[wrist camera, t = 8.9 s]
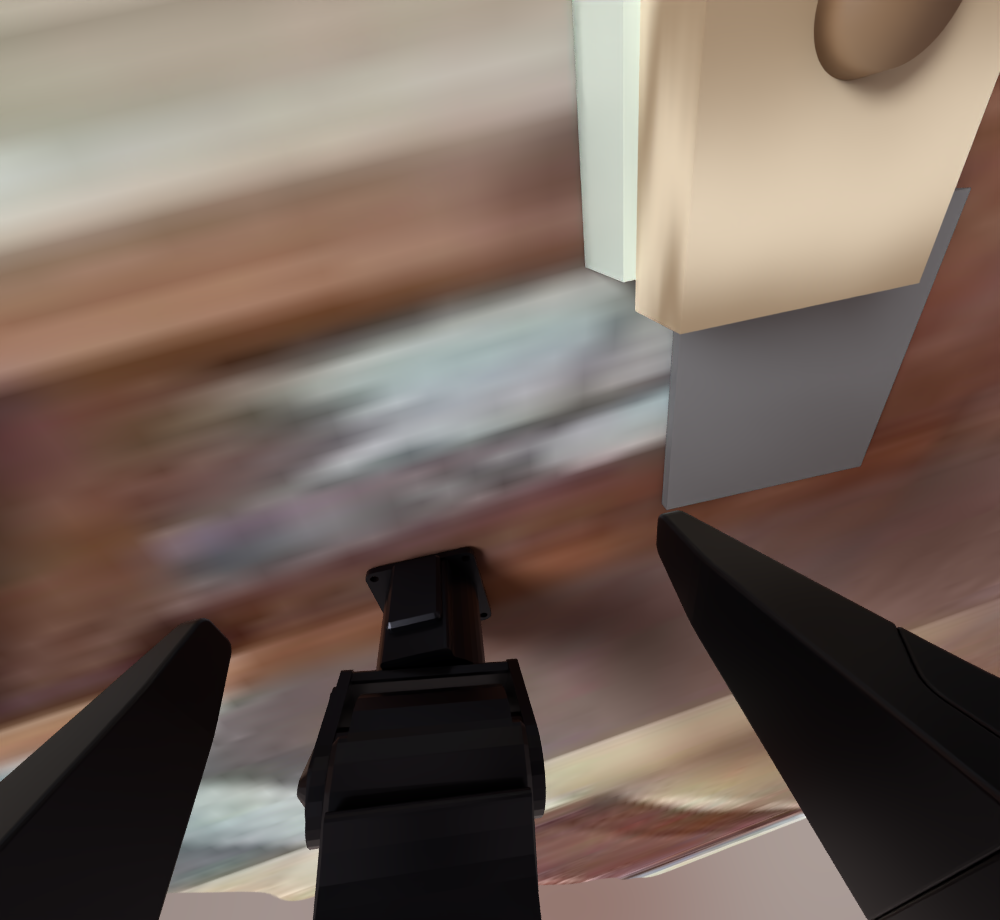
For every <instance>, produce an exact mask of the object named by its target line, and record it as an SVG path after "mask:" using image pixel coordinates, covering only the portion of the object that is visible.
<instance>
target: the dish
mask: <svg viewBox="0 0 1000 920" xmlns="http://www.w3.org/2000/svg"><path fill="white" fill-rule="evenodd" d="M572 11H573V31H574V51H575V71H576V91H577V111H578V131H579V151H580V171H581V191H582V212H583V232H584V252H585V267H587V268H589V269H592V270H594V271H597V272H599V273H602V274H604V275H606V276H609V277H611V278H614V279H616V280H619V281H621V282H627V281H632V280H636V235H637V175H638V116H639V56H640V0H572Z"/></svg>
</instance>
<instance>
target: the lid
mask: <svg viewBox="0 0 1000 920" xmlns="http://www.w3.org/2000/svg"><path fill="white" fill-rule="evenodd" d="M999 72H1000V0H640V56H639V116H638V175H637V235H636V294H635V311H636V312H638V313H640V314H642V315H644V316H646V317H648V318H650V319H652V320H654V321H655V322H657V323H659V324H661V325H663V326H665V327H667V328H669V329H671V330H673V331H675V332H677V333H678V334H684V333H689V332H693V331H698V330H703V329H707V328H712V327H717V326H721V325H726V324H731V323H735V322H740V321H745V320H749V319H754V318H759V317H763V316H768V315H773V314H777V313H782V312H787V311H791V310H796V309H801V308H805V307H810V306H815V305H819V304H824V303H829V302H833V301H838V300H843V299H847V298H852V297H856V296H861V295H866V294H870V293H875V292H880V291H884V290H889V289H894V288H898V287H903V286H908V285H912V284H917V283H919V282H920V279H921V277H922V274H923V271H924V269H925V266H926V263H927V261H928V258H929V256H930V253H931V250H932V248H933V245H934V243H935V240H936V237H937V235H938V232H939V229H940V227H941V224H942V222H943V219H944V216H945V214H946V211H947V208H948V206H949V203H950V201H951V198H952V195H953V193H954V190H955V188H956V185H957V182H958V180H959V177H960V174H961V172H962V169H963V167H964V164H965V161H966V159H967V156H968V154H969V151H970V148H971V146H972V143H973V140H974V138H975V135H976V133H977V130H978V127H979V125H980V122H981V119H982V117H983V114H984V112H985V109H986V106H987V104H988V101H989V99H990V96H991V93H992V91H993V88H994V85H995V83H996V80H997V78H998V75H999Z"/></svg>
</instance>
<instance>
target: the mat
mask: <svg viewBox="0 0 1000 920" xmlns="http://www.w3.org/2000/svg"><path fill="white" fill-rule="evenodd" d="M970 190H971V188H955V190H954V193H953V195H952V198H951V201H950V203H949V206H948V208H947V211H946V214H945V216H944V219H943V222H942V224H941V227H940V229H939V232H938V235H937V237H936V240H935V243H934V245H933V248H932V250H931V253H930V256H929V258H928V261H927V263H926V266H925V269H924V271H923V274H922V277H921V279H920V282H919V283H917V284H912V285H908V286H903V287H898V288H894V289H889V290H884V291H880V292H875V293H870V294H866V295H861V296H856V297H852V298H847V299H843V300H838V301H833V302H829V303H824V304H819V305H815V306H810V307H805V308H801V309H796V310H791V311H787V312H782V313H777V314H773V315H768V316H763V317H759V318H754V319H749V320H745V321H740V322H735V323H731V324H726V325H721V326H717V327H712V328H707V329H703V330H698V331H693V332H689V333H684V334H678V333H677V332H675V331H673V345H672V360H671V375H670V390H669V405H668V420H667V435H666V449H665V464H664V479H663V494H662V505H663V506H664V507H665V508H666V510H669V509H673V508H678V507H682V506H686V505H691V504H695V503H700V502H704V501H709V500H713V499H717V498H722V497H726V496H731V495H735V494H740V493H744V492H748V491H753V490H757V489H762V488H766V487H770V486H775V485H779V484H784V483H788V482H793V481H797V480H801V479H806V478H810V477H815V476H819V475H824V474H828V473H832V472H837V471H841V470H846V469H850V468H854V467H859V466H861V463H862V461H863V458H864V456H865V453H866V451H867V448H868V446H869V443H870V441H871V438H872V436H873V433H874V431H875V428H876V426H877V423H878V421H879V418H880V416H881V413H882V411H883V408H884V406H885V403H886V401H887V398H888V396H889V393H890V391H891V388H892V386H893V383H894V381H895V378H896V375H897V373H898V370H899V368H900V365H901V363H902V360H903V358H904V355H905V353H906V350H907V348H908V345H909V343H910V340H911V338H912V335H913V333H914V330H915V328H916V325H917V323H918V320H919V318H920V315H921V313H922V310H923V308H924V305H925V303H926V300H927V298H928V295H929V293H930V290H931V288H932V285H933V283H934V280H935V278H936V275H937V273H938V270H939V267H940V265H941V262H942V260H943V257H944V255H945V252H946V250H947V247H948V245H949V242H950V240H951V237H952V235H953V232H954V230H955V227H956V225H957V222H958V220H959V217H960V215H961V212H962V210H963V207H964V205H965V202H966V200H967V197H968V195H969V192H970Z"/></svg>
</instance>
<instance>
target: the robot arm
mask: <svg viewBox="0 0 1000 920" xmlns="http://www.w3.org/2000/svg"><path fill="white" fill-rule="evenodd" d="M656 545H657V550H658V554H659V556H660V558H661V560H662V563H663V565H664V567H665V569H666V571H667V573H668V576H669V578H670V580H671V582H672V584H673V586H674V589H675V591H676V593H677V595H678V597H679V599H680V602H681V604H682V606H683V608H684V610H685V612H686V615H687V617H688V619H689V621H690V623H691V625H692V627H693V628H694V630H695V632H696V634H697V635H698V637H699V639H700V641H701V642H702V644H703V646H704V647H705V649H706V651H707V652H708V654H709V656H710V657H711V659H712V661H713V662H714V664H715V666H716V667H717V669H718V671H719V672H720V674H721V676H722V677H723V679H724V681H725V682H726V684H727V686H728V687H729V689H730V691H731V692H732V694H733V696H734V697H735V699H736V701H737V702H738V704H739V706H740V707H741V709H742V711H743V712H744V714H745V716H746V717H747V719H748V721H749V722H750V724H751V726H752V728H753V729H754V731H755V733H756V734H757V736H758V738H759V739H760V741H761V743H762V744H763V746H764V748H765V749H766V751H767V753H768V754H769V756H770V758H771V759H772V761H773V763H774V764H775V766H776V768H777V769H778V771H779V773H780V774H781V776H782V778H783V779H784V781H785V783H786V784H787V786H788V788H789V789H790V791H791V793H792V794H793V796H794V798H795V799H796V801H797V803H798V804H799V806H800V808H801V809H802V811H803V813H804V814H805V816H806V818H807V819H808V821H809V823H810V824H811V826H812V828H813V829H814V831H815V833H816V835H817V836H818V838H819V839H820V841H821V843H822V844H823V846H824V848H825V850H826V851H827V853H828V854H829V856H830V858H831V860H832V861H833V863H834V864H835V866H836V868H837V870H838V871H839V873H840V874H841V876H842V878H843V880H844V881H845V883H846V885H847V886H848V888H849V890H850V891H851V893H852V895H853V896H854V898H855V900H856V901H857V903H858V905H859V906H860V908H861V910H862V911H863V913H864V915H865V916H866V918H867V919H868V920H1000V678H999V677H997V676H995V675H993V674H991V673H989V672H987V671H985V670H983V669H981V668H979V667H977V666H975V665H973V664H971V663H969V662H967V661H965V660H963V659H961V658H959V657H957V656H955V655H953V654H951V653H949V652H947V651H946V650H944V649H942V648H940V647H938V646H936V645H934V644H932V643H930V642H928V641H926V640H924V639H922V638H921V637H919V636H917V635H915V634H913V633H911V632H909V631H907V630H906V629H904V628H901V627H897V628H896V626H895V624H894V623H892V622H890V621H888V620H886V619H884V618H883V617H881V616H879V615H877V614H875V613H873V612H871V611H869V610H868V609H866V608H864V607H862V606H860V605H858V604H856V603H854V602H852V601H851V600H849V599H847V598H845V597H843V596H841V595H839V594H837V593H836V592H834V591H832V590H830V589H828V588H826V587H824V586H822V585H820V584H819V583H817V582H815V581H813V580H811V579H809V578H807V577H805V576H804V575H802V574H800V573H798V572H796V571H794V570H792V569H790V568H788V567H787V566H785V565H783V564H781V563H779V562H777V561H775V560H773V559H772V558H770V557H768V556H766V555H764V554H762V553H760V552H758V551H757V550H755V549H753V548H751V547H749V546H747V545H745V544H743V543H741V542H740V541H738V540H736V539H734V538H732V537H730V536H728V535H726V534H725V533H723V532H721V531H719V530H717V529H715V528H713V527H711V526H709V525H708V524H706V523H704V522H702V521H700V520H698V519H696V518H694V517H693V516H691V515H689V514H687V513H685V512H683V511H673V512H668V513H664V514H661V515H660V516H659V518H658V525H657V541H656ZM465 555H467V557H464V556H465ZM373 576H376V577H373ZM366 582H367V584H368V586H369V588H370V589H371V591H372V593H373V595H374V597H375V599H376V601H377V602H378V604H379V606H380V608H381V610H382V612H383V621H382V628H381V636H380V644H379V652H378V659H377V667H376V670H372V671H358V672H354V671H353V670H343V671H341V673H340V676H339V679H338V683H337V686H336V687H334V688H333V690H332V693H331V694H330V699H329V703H328V706H327V709H326V712H325V716H324V719H323V722H322V725H321V728H320V731H319V735H318V738H317V741H316V744H315V747H314V749H313V752H312V754H311V756H310V758H309V760H308V762H307V765H306V767H305V769H304V771H303V773H302V775H301V778H300V780H299V784H298V789H297V797H298V799H299V800H300V802H301V803H302V804H303V806H304V807H305V838H306V845H307V848H308V849H309V850H311V849H318V848H319V857H318V868H317V880H316V891H315V902H314V915H313V920H541V913H540V903H539V894H538V875H537V857H536V840H535V822H534V818H541V817H542V816H543V814H544V810H545V801H546V784H545V769H544V760H543V753H542V746H541V741H540V736H539V732H538V728H537V724H536V720H535V717H534V714H533V710H532V707H531V704H530V700H529V697H528V694H527V690H526V687H525V684H524V680H523V677H522V673H521V670H520V667H519V663H518V660H517V659H507V660H506V661H502V662H488V663H485V656H484V646H483V637H482V628H481V620H485V619H488V618H489V617H490V616H491V609H490V605H489V602H488V599H487V595H486V592H485V589H484V585H483V582H482V579H481V575H480V572H479V569H478V565H477V562H476V558H475V555H474V552H473V550H472V549H470V548H460V549H456V550H452V551H447V552H443V553H438V554H434V555H429V556H425V557H421V558H416V559H412V560H407V561H403V562H398V563H394V564H390V565H385V566H381V567H376V568H372V569H369V570H368V571H367V574H366ZM230 658H231V644H230V642H229V640H228V639H227V638H226V637H225V636H224V635H223V634H222V632H221V631H220V630H219V629H218V628H217V627H216V626H215V625H214V624H213V623H212V622H211V621H210V620H208V619H205V618H201V619H196V620H192V621H187V622H184V623H181V624H180V625H178V626H177V627H176V628H175V629H174V630H172V631H171V632H170V633H169V634H168V635H167V636H166V637H164V638H163V639H162V640H161V641H160V642H159V643H158V644H156V645H155V646H154V647H153V648H152V649H151V650H150V651H149V652H147V653H146V654H145V655H144V656H143V657H142V658H141V659H139V660H138V661H137V662H136V663H135V664H134V665H133V666H131V667H130V668H129V669H128V670H127V671H126V672H125V673H124V674H122V675H121V676H120V677H119V678H118V679H117V680H116V681H114V682H113V683H112V684H111V685H110V686H109V687H108V688H107V689H105V690H104V691H103V692H102V693H101V694H100V695H99V696H97V697H96V698H95V699H94V700H93V701H92V702H91V703H89V704H88V705H87V706H86V707H85V708H84V709H83V710H82V711H80V712H79V713H78V714H77V715H76V716H75V717H74V718H72V719H71V720H70V721H69V722H68V723H67V724H66V725H64V726H63V727H62V728H61V729H60V730H59V731H58V732H57V733H55V734H54V735H53V736H52V737H51V738H50V739H49V740H47V741H46V742H45V743H44V744H43V745H42V746H41V747H40V748H38V749H37V750H36V751H35V752H34V753H33V754H32V755H30V756H29V757H28V758H27V759H26V760H25V761H24V762H22V763H21V764H20V765H19V766H18V767H17V768H16V769H15V770H13V771H12V772H11V773H10V774H9V775H8V776H7V777H5V778H4V779H3V780H2V781H1V782H0V920H159V917H160V914H161V910H162V907H163V904H164V900H165V897H166V894H167V891H168V887H169V884H170V881H171V877H172V874H173V871H174V868H175V864H176V861H177V858H178V854H179V851H180V848H181V845H182V841H183V838H184V835H185V831H186V828H187V825H188V821H189V818H190V815H191V812H192V808H193V805H194V802H195V798H196V795H197V792H198V789H199V785H200V782H201V779H202V775H203V772H204V769H205V766H206V762H207V759H208V756H209V752H210V749H211V745H212V742H213V738H214V734H215V730H216V726H217V721H218V716H219V711H220V707H221V702H222V697H223V692H224V687H225V682H226V677H227V672H228V667H229V663H230Z"/></svg>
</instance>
